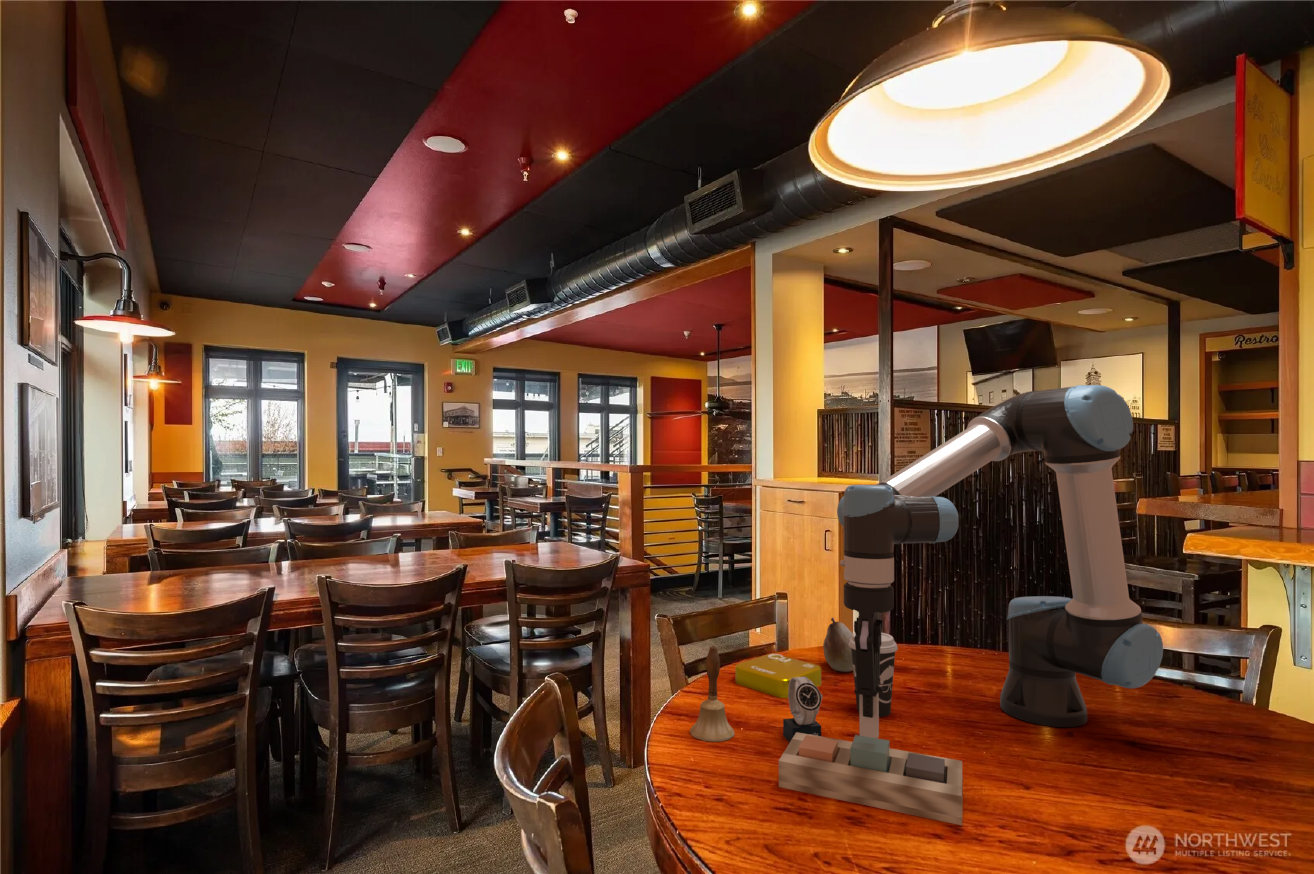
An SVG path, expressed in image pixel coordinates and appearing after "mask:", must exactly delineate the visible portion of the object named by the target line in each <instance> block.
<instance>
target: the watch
mask: <svg viewBox="0 0 1314 874" xmlns="http://www.w3.org/2000/svg"><path fill="white" fill-rule="evenodd" d="M823 697H824V696H823V694H822V693H821V692H820V689H819V688H818V687H816V686H815V685H814V684H813V683H812V681H809V679H808V678H806V677H793V678H791V679H790V682H789V693H788V698H787V699H788V705H789V706H788V707H789V711H790V714H791V715H792V717H793V718H792V717H791V718H783V719H782V730H783V732H782V733H783V735H782V736H783V738H784V739H785V740H786V741H787V740H788V741H787V742H788V744H789V743H790V742H791V740H792V738H793V737H794V735H795V734H796V732H798V733H804V734H810V735H815V736H821V737H822V725H821V724H820V723H819V722H818V721H817V720H816V719H817V715H818V714H819V711H820V706H821V704H822V699H823Z"/></svg>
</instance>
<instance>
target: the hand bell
mask: <svg viewBox="0 0 1314 874" xmlns="http://www.w3.org/2000/svg"><path fill="white" fill-rule="evenodd" d="M705 667H706V668H705V669H706V675H707V679H708V689H707V690H708V691H707V692H708V693H707V699H706V700H702V702H701V703H700V707H699V713H698V718H697V720H696V721H695V723H694V724H693V725H692V726H691V728H690V730H689V733H690V735H691V736H692V737H693V738H695V739H696V740H699V741H702V742H703V741H704V742H707V741H708V743H711V742H712V743H720V742H726V741H729V740H730V739H732V738H734V737H735V730H734V728H733V727H732V726H731V725H730V724H729V722H728V719H727V716H726V708H725V704H724V703H723V701H720V700H719V699H718V678H719V674H720V670H721V669H720V668H721V660H720V655H719V652H718V648H717V646H716V645H715V646H714V645H711V646H710V647H709V650H708V653H707V657H706V662H705Z"/></svg>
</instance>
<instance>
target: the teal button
mask: <svg viewBox="0 0 1314 874" xmlns="http://www.w3.org/2000/svg"><path fill="white" fill-rule="evenodd" d="M851 742H852V745H851V747H850V754H851V766H854V767H860V768H865V769H870V770H876V771H881V772H886V773H888V771H889V767H890V749H891V748H890V744H891V743H890V740H888V739H882V738H878V739H876V738H871V737H865V736H860V734H859V735H858V734H855V735H854V738H853V741H851Z"/></svg>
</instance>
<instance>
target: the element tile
mask: <svg viewBox="0 0 1314 874" xmlns="http://www.w3.org/2000/svg"><path fill="white" fill-rule="evenodd" d="M734 671H735V675H734V676H735V678H734V679H735V684H737V685H739V686H742V687H745V688H748V689H751V688H752V690H754V691H757V692H760V693H763V692H764V693H763V694H766V695H770V696H772V695H773V696H772V697H775V698H780V699H788V693H789V682H790V679H791V678H793V677H806V678H808V679H809V681H812V683H813V684H814V685H815V686H816V687H817V688H818V687H820V686H822V667H821V665H818V664H815V663H812V662H807V661H803V660H800V659H796V658H792V657H789V656H786V655H782V654H779V653H769V654H768V653H767V654H765V655H761V656H758V657H755V658H753V659H749V660H746V661H743V662H738V663H737V664H736V665H735V670H734Z"/></svg>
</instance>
